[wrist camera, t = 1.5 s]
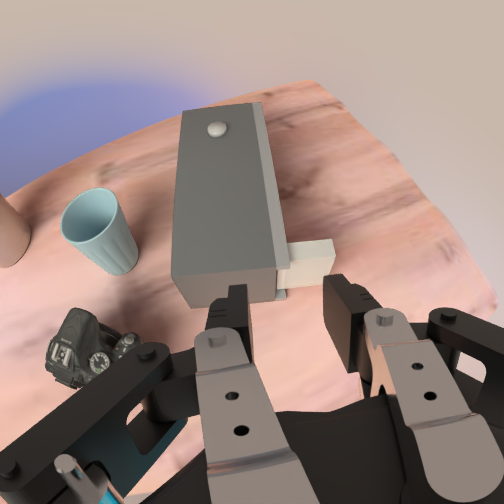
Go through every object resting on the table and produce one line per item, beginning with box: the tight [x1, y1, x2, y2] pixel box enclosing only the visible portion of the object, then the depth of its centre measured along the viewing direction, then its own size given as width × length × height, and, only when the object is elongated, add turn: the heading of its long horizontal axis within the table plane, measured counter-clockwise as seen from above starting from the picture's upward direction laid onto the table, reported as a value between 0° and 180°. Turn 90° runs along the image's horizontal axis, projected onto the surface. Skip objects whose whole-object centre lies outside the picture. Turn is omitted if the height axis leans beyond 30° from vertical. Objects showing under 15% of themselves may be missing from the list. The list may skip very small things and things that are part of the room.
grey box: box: [171, 102, 290, 309], centre depth 40 cm, size 11×27×10 cm, turn 5°
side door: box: [276, 239, 336, 290], centre depth 37 cm, size 6×11×7 cm, turn 5°
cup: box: [60, 188, 139, 275], centre depth 37 cm, size 8×8×10 cm
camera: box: [45, 308, 144, 403], centre depth 30 cm, size 13×10×10 cm
